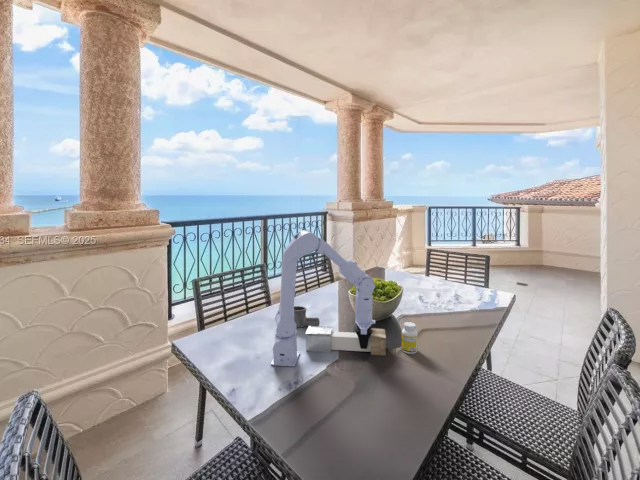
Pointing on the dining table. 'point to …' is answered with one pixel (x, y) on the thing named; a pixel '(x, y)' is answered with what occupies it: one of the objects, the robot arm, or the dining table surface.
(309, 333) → the sleeve
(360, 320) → the robot arm
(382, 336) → the socket
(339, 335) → the long white bar
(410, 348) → the supplement bottle
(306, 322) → the pipe
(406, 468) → the dining table surface
